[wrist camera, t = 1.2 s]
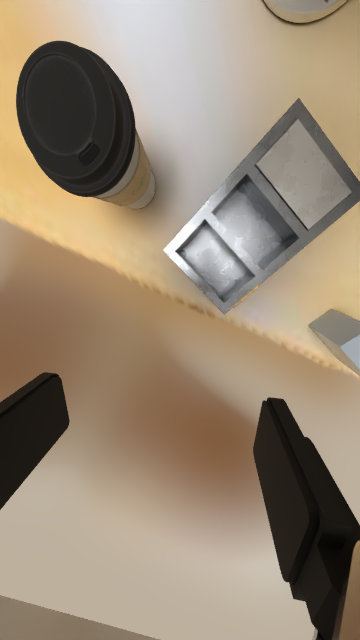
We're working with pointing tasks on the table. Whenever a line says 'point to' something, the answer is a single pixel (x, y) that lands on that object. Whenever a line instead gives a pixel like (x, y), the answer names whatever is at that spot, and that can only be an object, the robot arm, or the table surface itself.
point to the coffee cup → (82, 126)
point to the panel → (340, 337)
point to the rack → (265, 210)
